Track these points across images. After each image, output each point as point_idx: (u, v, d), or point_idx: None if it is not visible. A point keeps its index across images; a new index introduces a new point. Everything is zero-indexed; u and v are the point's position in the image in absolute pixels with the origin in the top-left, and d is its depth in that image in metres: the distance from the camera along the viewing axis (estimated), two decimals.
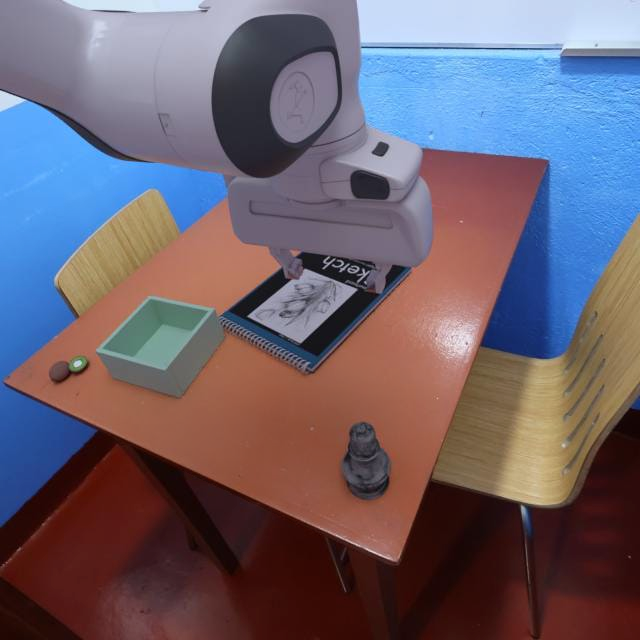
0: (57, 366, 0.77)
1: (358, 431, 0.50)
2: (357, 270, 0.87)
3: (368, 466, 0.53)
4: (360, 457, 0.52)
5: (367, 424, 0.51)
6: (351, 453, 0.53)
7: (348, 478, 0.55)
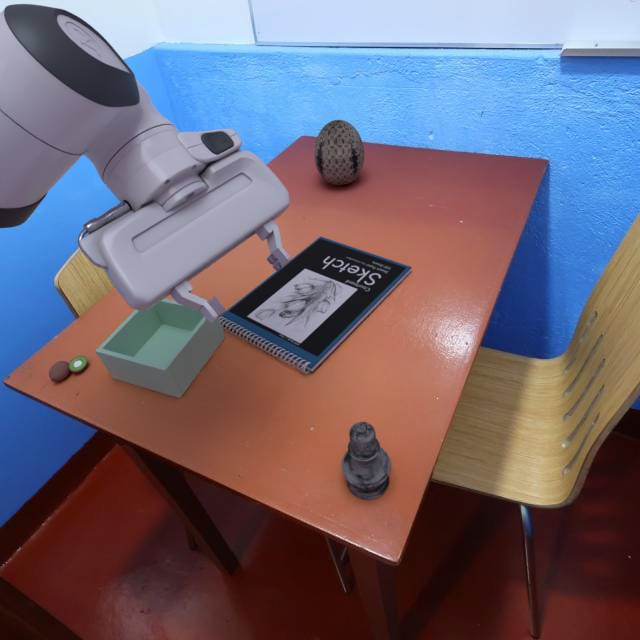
0: (57, 366, 0.77)
1: (358, 431, 0.50)
2: (357, 270, 0.87)
3: (368, 466, 0.53)
4: (360, 457, 0.52)
5: (367, 424, 0.51)
6: (351, 453, 0.53)
7: (348, 478, 0.55)
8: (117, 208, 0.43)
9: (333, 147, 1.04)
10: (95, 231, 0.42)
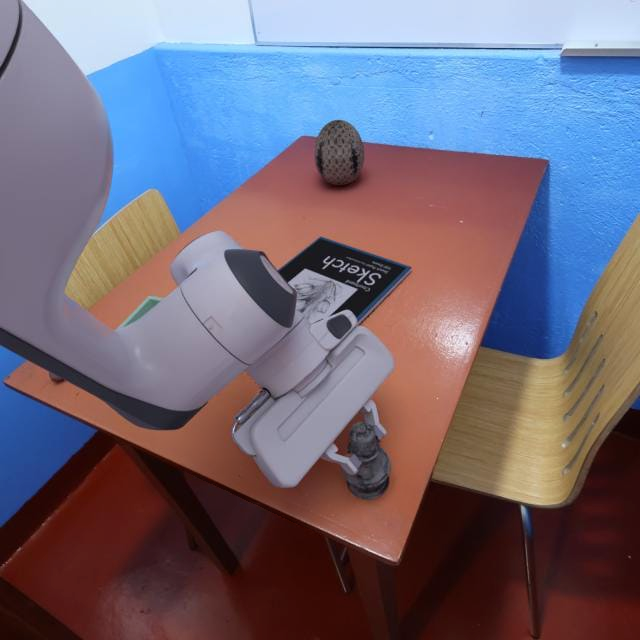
0: None
1: (358, 431, 0.50)
2: (357, 270, 0.87)
3: (368, 466, 0.53)
4: (360, 457, 0.52)
5: (367, 424, 0.51)
6: None
7: (348, 478, 0.55)
8: (260, 397, 0.49)
9: (333, 147, 1.04)
10: (245, 423, 0.47)
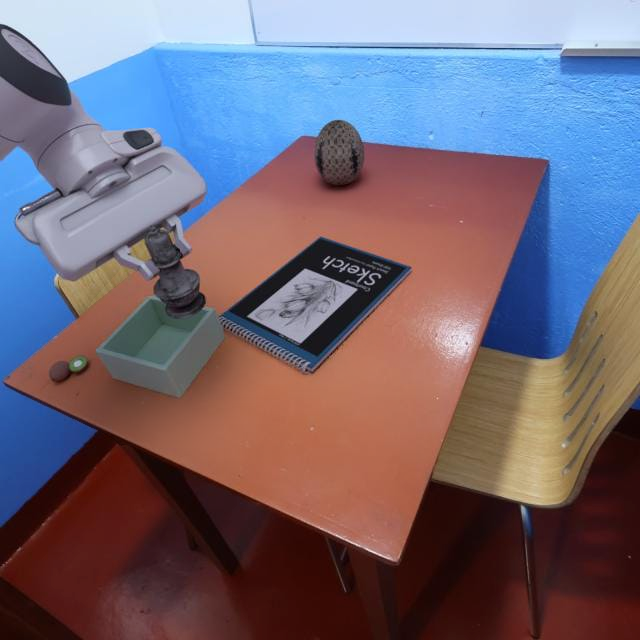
0: (57, 366, 0.77)
1: (150, 234, 0.53)
2: (357, 270, 0.87)
3: (170, 278, 0.56)
4: (158, 264, 0.54)
5: (161, 230, 0.54)
6: None
7: (156, 293, 0.57)
8: (49, 194, 0.51)
9: (333, 147, 1.04)
10: (29, 213, 0.50)
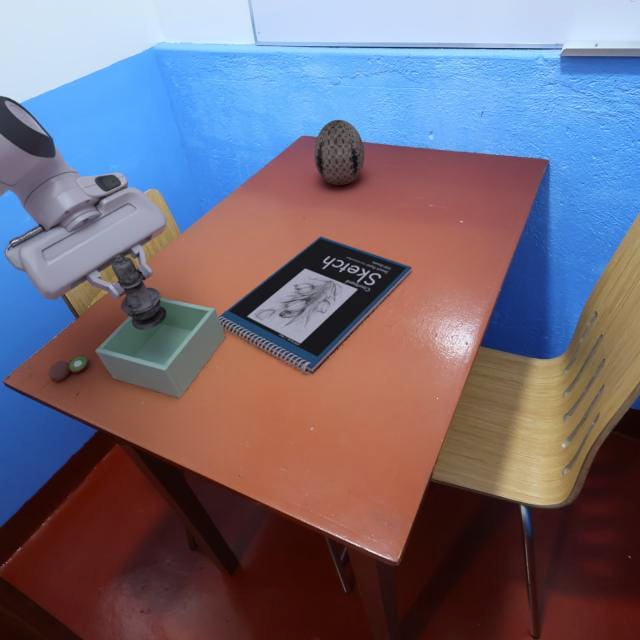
0: (57, 366, 0.77)
1: (116, 261, 0.64)
2: (357, 270, 0.87)
3: (134, 296, 0.67)
4: (124, 285, 0.66)
5: (126, 257, 0.65)
6: None
7: (123, 308, 0.69)
8: (33, 230, 0.63)
9: (333, 147, 1.04)
10: (17, 246, 0.61)
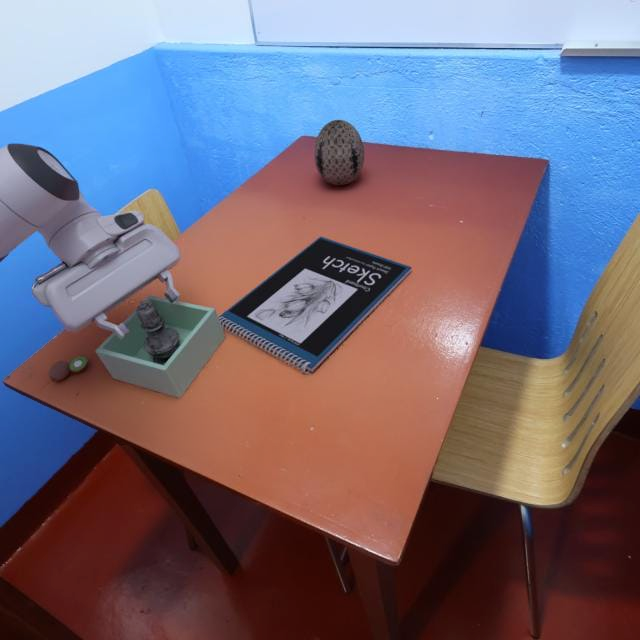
0: (58, 366, 0.77)
1: (140, 307, 0.70)
2: (357, 270, 0.87)
3: (156, 338, 0.73)
4: (147, 328, 0.72)
5: (149, 303, 0.71)
6: (142, 327, 0.72)
7: (145, 348, 0.74)
8: (57, 267, 0.67)
9: (333, 147, 1.04)
10: (42, 283, 0.66)
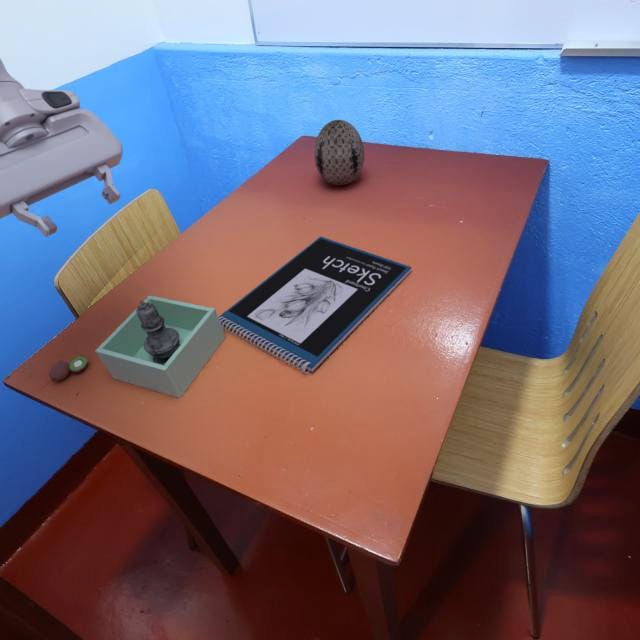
0: (58, 366, 0.77)
1: (140, 307, 0.70)
2: (357, 270, 0.87)
3: (156, 338, 0.73)
4: (147, 328, 0.72)
5: (149, 303, 0.71)
6: (142, 327, 0.72)
7: (145, 348, 0.74)
8: None
9: (333, 147, 1.04)
10: None
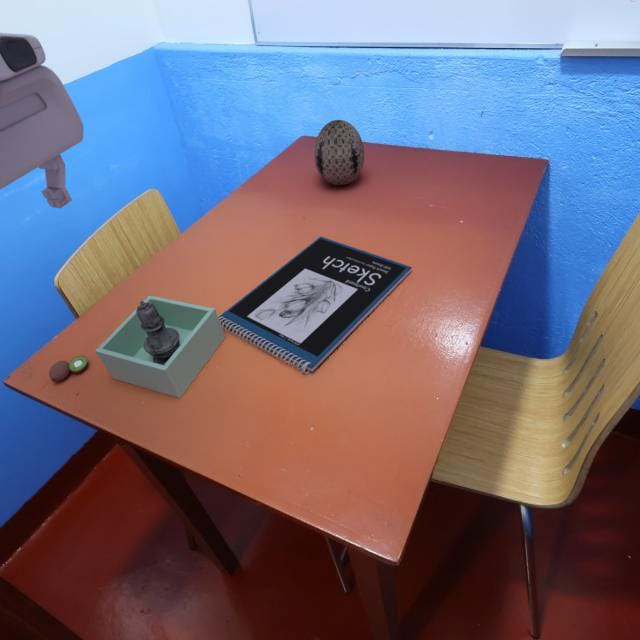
0: (58, 366, 0.77)
1: (140, 307, 0.70)
2: (357, 270, 0.87)
3: (156, 338, 0.73)
4: (147, 328, 0.72)
5: (149, 303, 0.71)
6: (142, 327, 0.72)
7: (145, 348, 0.74)
8: None
9: (333, 147, 1.04)
10: None
